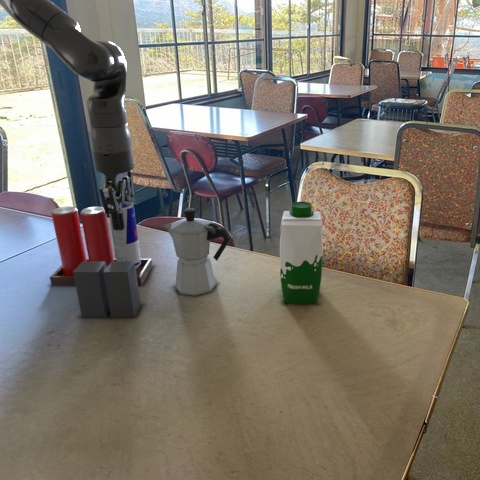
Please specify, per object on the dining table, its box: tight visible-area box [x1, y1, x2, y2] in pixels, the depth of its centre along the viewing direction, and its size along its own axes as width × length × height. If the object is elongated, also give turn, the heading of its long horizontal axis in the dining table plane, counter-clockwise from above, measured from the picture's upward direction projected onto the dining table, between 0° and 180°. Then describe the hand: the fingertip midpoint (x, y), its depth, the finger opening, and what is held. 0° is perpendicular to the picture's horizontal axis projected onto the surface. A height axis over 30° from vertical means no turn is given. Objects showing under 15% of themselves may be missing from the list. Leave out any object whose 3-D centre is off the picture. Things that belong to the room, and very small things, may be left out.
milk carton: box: [279, 201, 324, 305], centre depth 100 cm, size 9×9×20 cm
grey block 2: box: [103, 261, 142, 318], centre depth 94 cm, size 4×4×10 cm
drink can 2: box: [80, 206, 115, 266], centre depth 106 cm, size 5×5×15 cm
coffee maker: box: [162, 207, 232, 297], centre depth 102 cm, size 15×9×18 cm, turn 80°
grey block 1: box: [73, 261, 110, 318], centre depth 94 cm, size 4×4×10 cm
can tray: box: [49, 258, 153, 287], centre depth 109 cm, size 19×9×2 cm, turn 93°
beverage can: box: [108, 201, 142, 268], centre depth 106 cm, size 5×5×15 cm
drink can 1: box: [50, 205, 88, 276], centre depth 105 cm, size 5×5×15 cm
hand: (123, 224), depth 104 cm, fingers closed on beverage can, 5 cm apart
